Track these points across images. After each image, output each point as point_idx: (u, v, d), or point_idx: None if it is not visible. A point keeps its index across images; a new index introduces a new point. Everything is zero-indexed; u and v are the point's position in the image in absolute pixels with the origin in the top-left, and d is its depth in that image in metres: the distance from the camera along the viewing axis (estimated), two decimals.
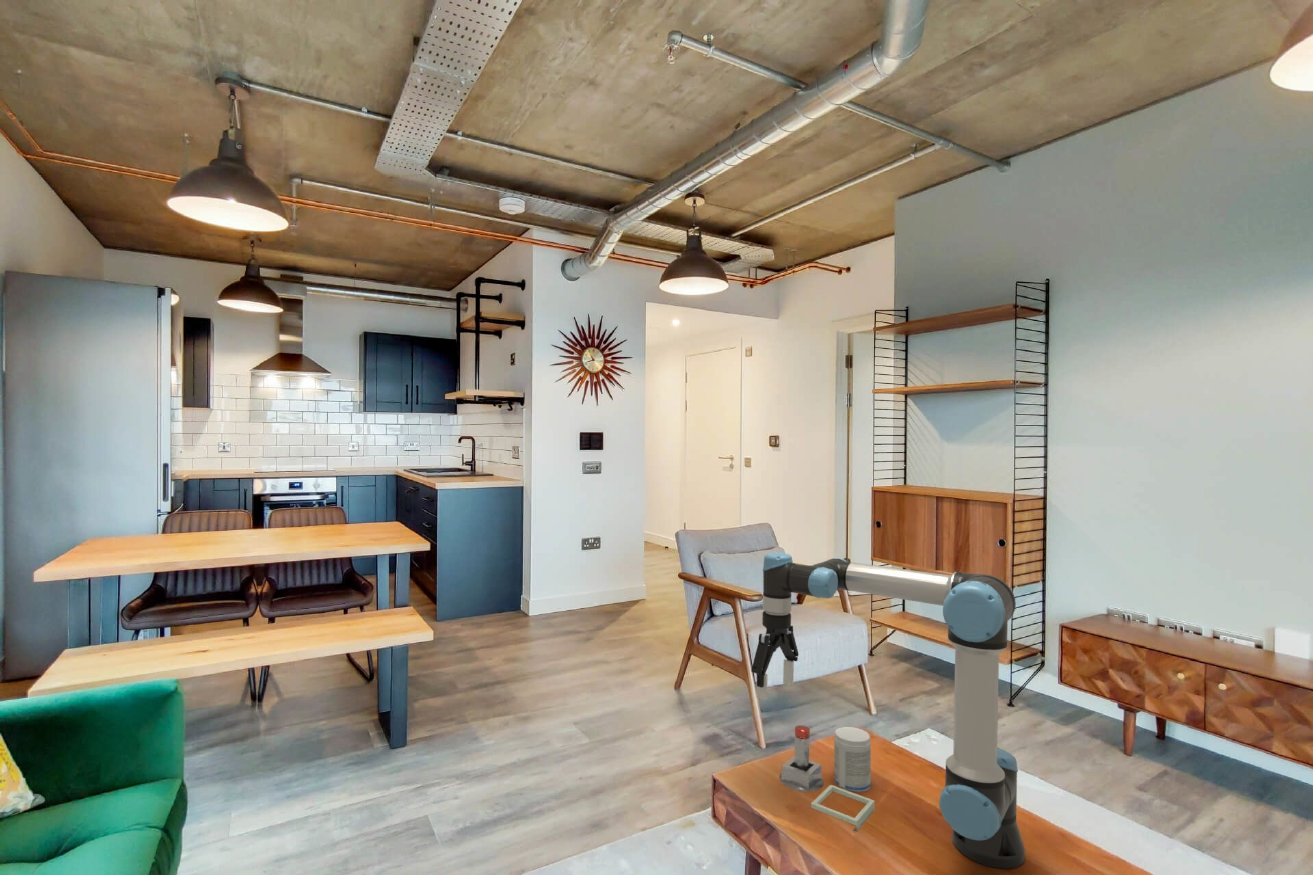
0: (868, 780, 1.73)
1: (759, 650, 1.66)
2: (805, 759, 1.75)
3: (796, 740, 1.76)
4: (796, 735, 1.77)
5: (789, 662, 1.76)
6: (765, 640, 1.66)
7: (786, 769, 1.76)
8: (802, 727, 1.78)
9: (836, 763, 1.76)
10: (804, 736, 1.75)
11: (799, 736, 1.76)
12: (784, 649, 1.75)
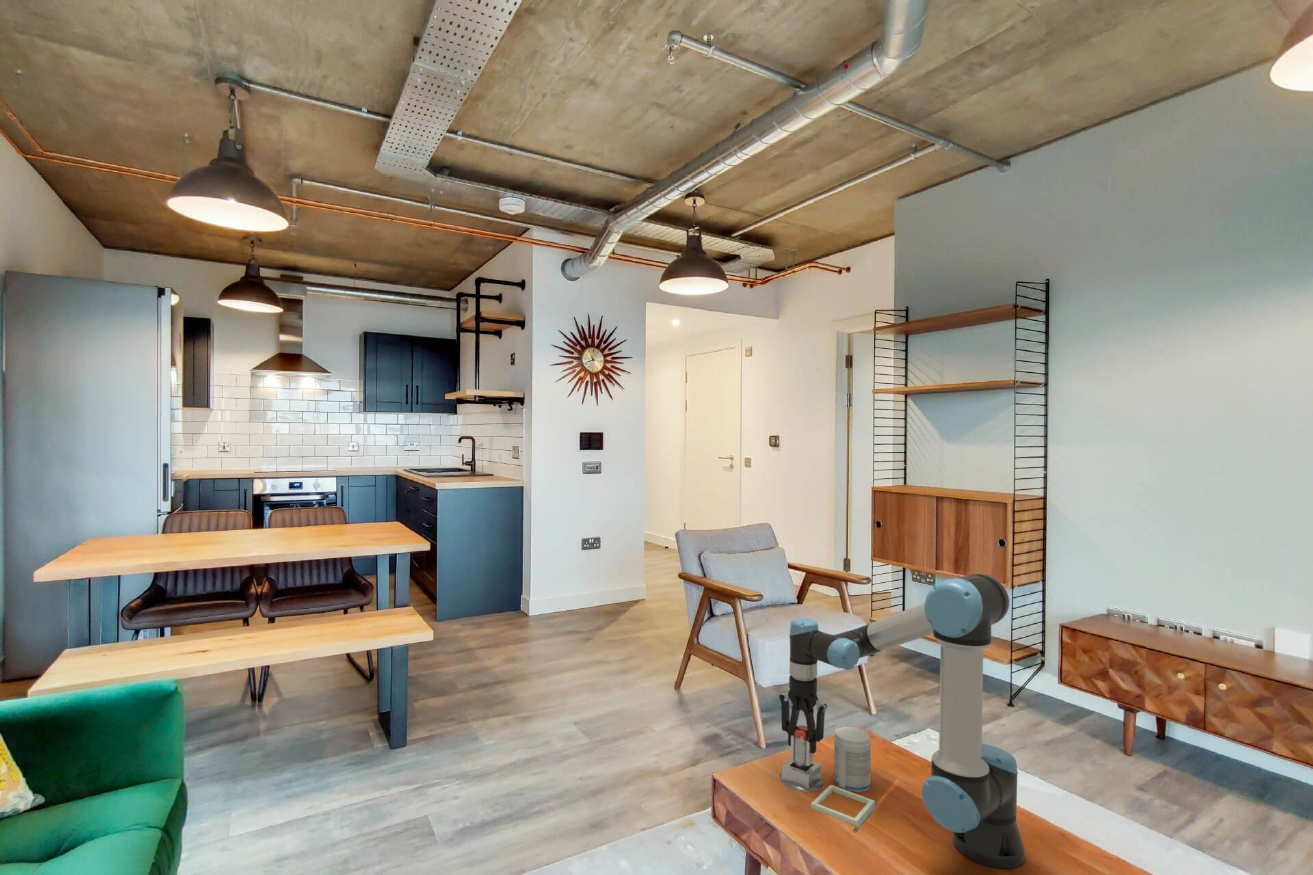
0: (868, 780, 1.73)
1: None
2: (805, 759, 1.75)
3: (796, 740, 1.76)
4: (796, 735, 1.77)
5: None
6: None
7: (786, 769, 1.76)
8: (802, 727, 1.78)
9: (836, 763, 1.76)
10: (804, 736, 1.75)
11: (799, 736, 1.76)
12: None
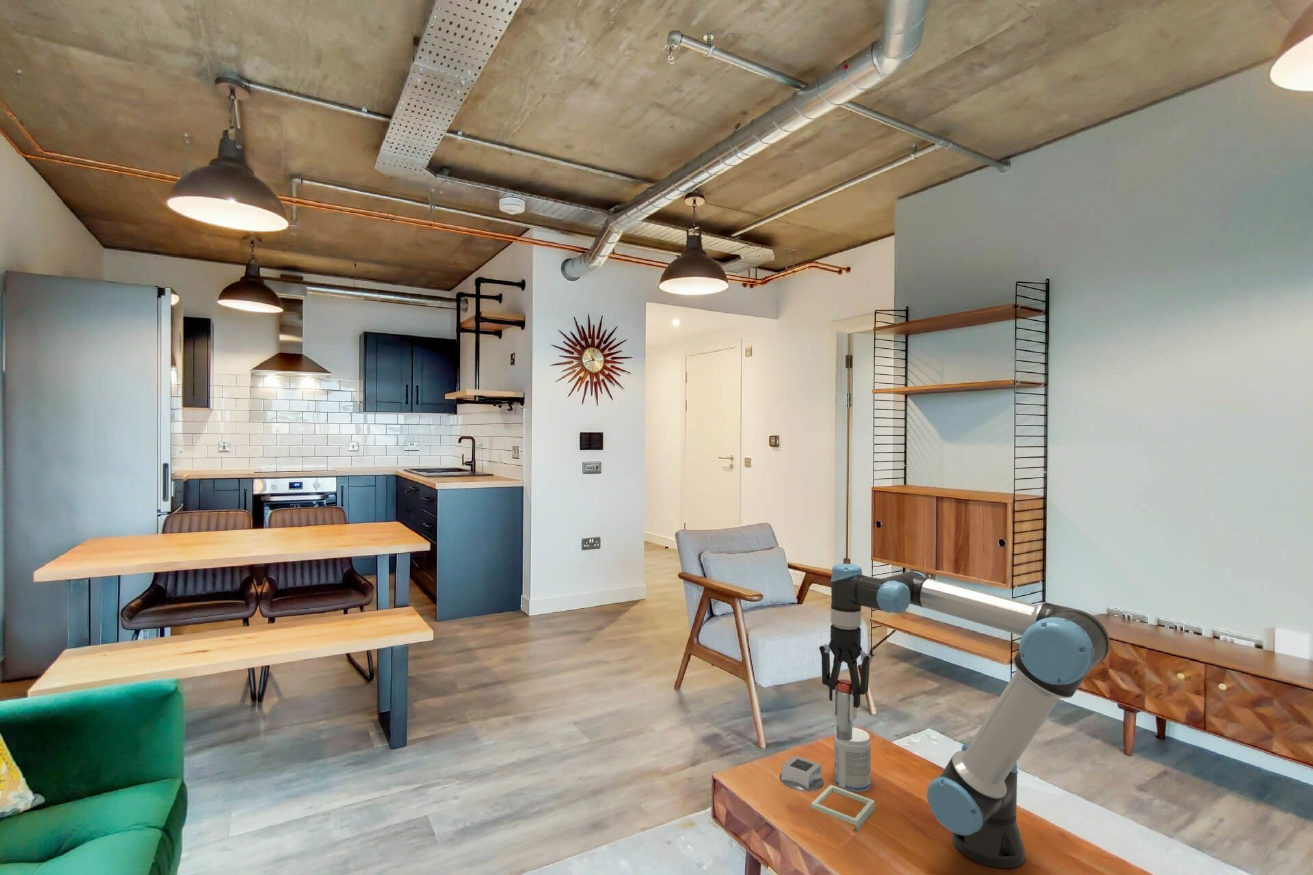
0: (868, 780, 1.73)
1: None
2: (848, 715, 1.63)
3: (838, 694, 1.64)
4: (838, 689, 1.64)
5: None
6: None
7: (786, 769, 1.76)
8: (844, 680, 1.66)
9: (836, 763, 1.76)
10: (847, 690, 1.63)
11: (842, 690, 1.63)
12: None
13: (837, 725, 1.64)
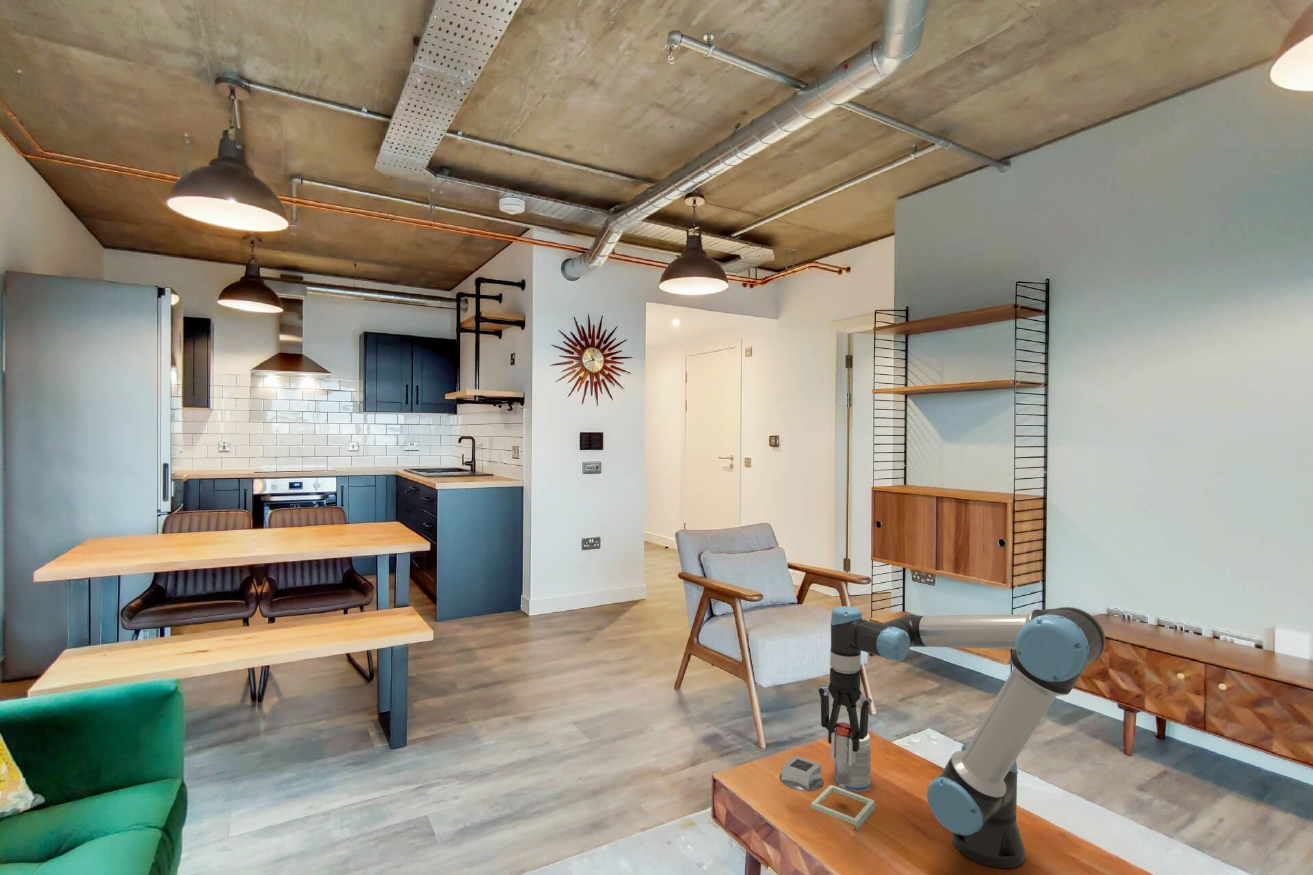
0: (868, 780, 1.73)
1: None
2: (847, 758, 1.63)
3: (837, 738, 1.64)
4: (837, 733, 1.64)
5: None
6: None
7: (786, 769, 1.76)
8: (843, 724, 1.66)
9: None
10: (846, 734, 1.63)
11: (841, 734, 1.63)
12: None
13: (836, 768, 1.64)
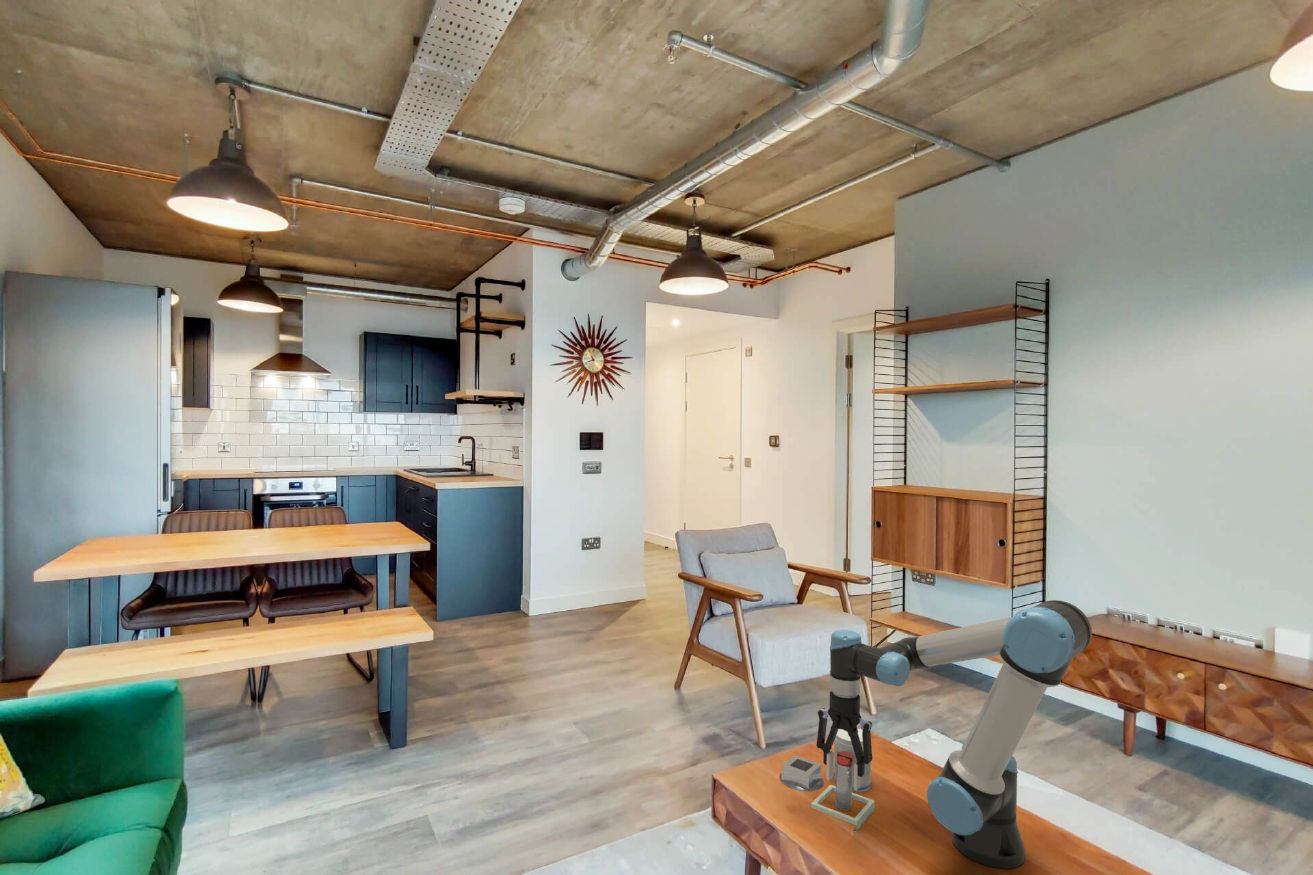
0: (868, 780, 1.73)
1: None
2: (848, 788, 1.63)
3: (838, 767, 1.64)
4: (839, 762, 1.64)
5: None
6: None
7: (786, 769, 1.76)
8: (844, 753, 1.65)
9: (836, 763, 1.76)
10: (847, 763, 1.62)
11: (842, 763, 1.63)
12: None
13: (836, 798, 1.64)
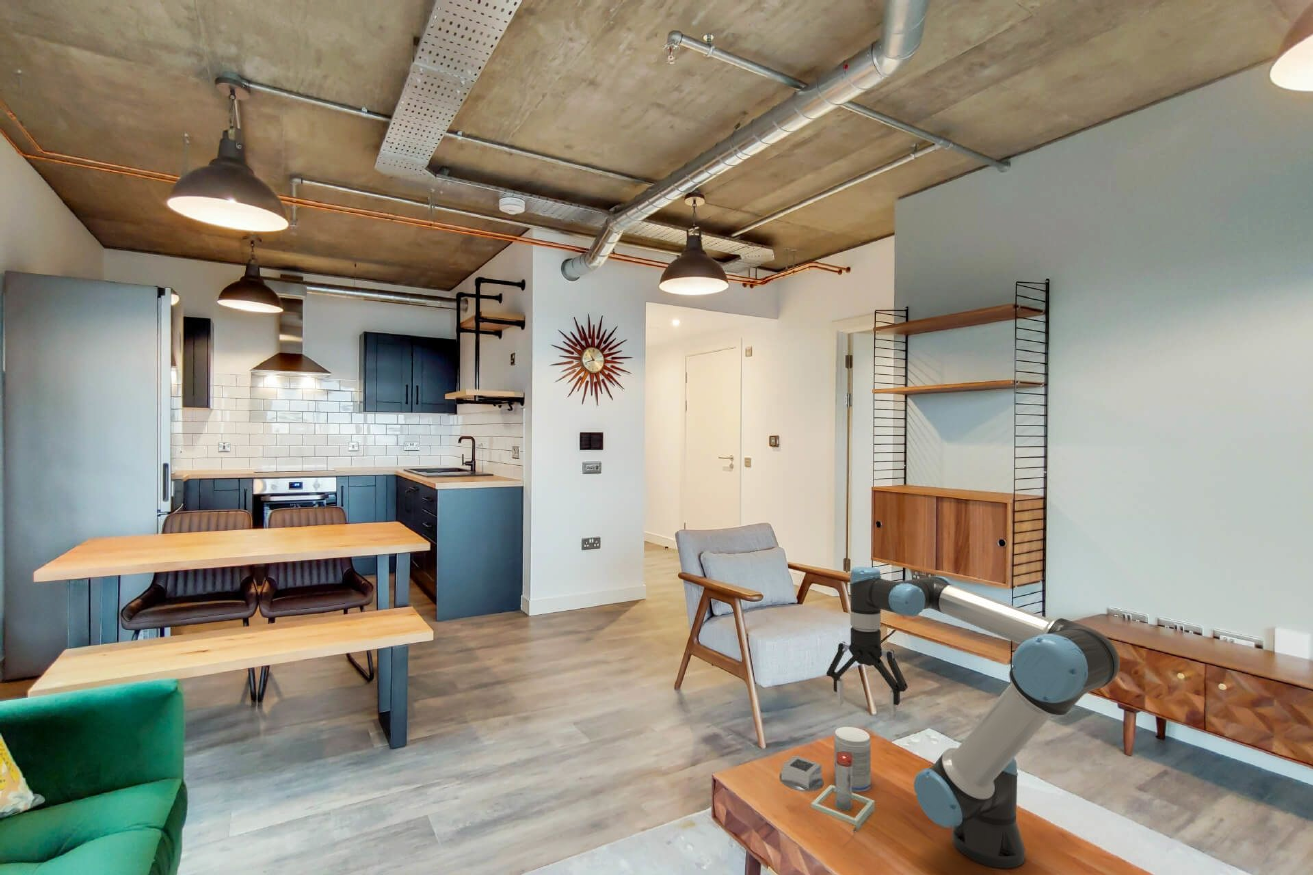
0: (868, 780, 1.73)
1: None
2: (847, 788, 1.63)
3: (838, 767, 1.64)
4: (838, 762, 1.64)
5: None
6: None
7: (786, 769, 1.76)
8: (844, 753, 1.65)
9: None
10: (847, 763, 1.63)
11: (841, 763, 1.63)
12: None
13: (836, 798, 1.64)
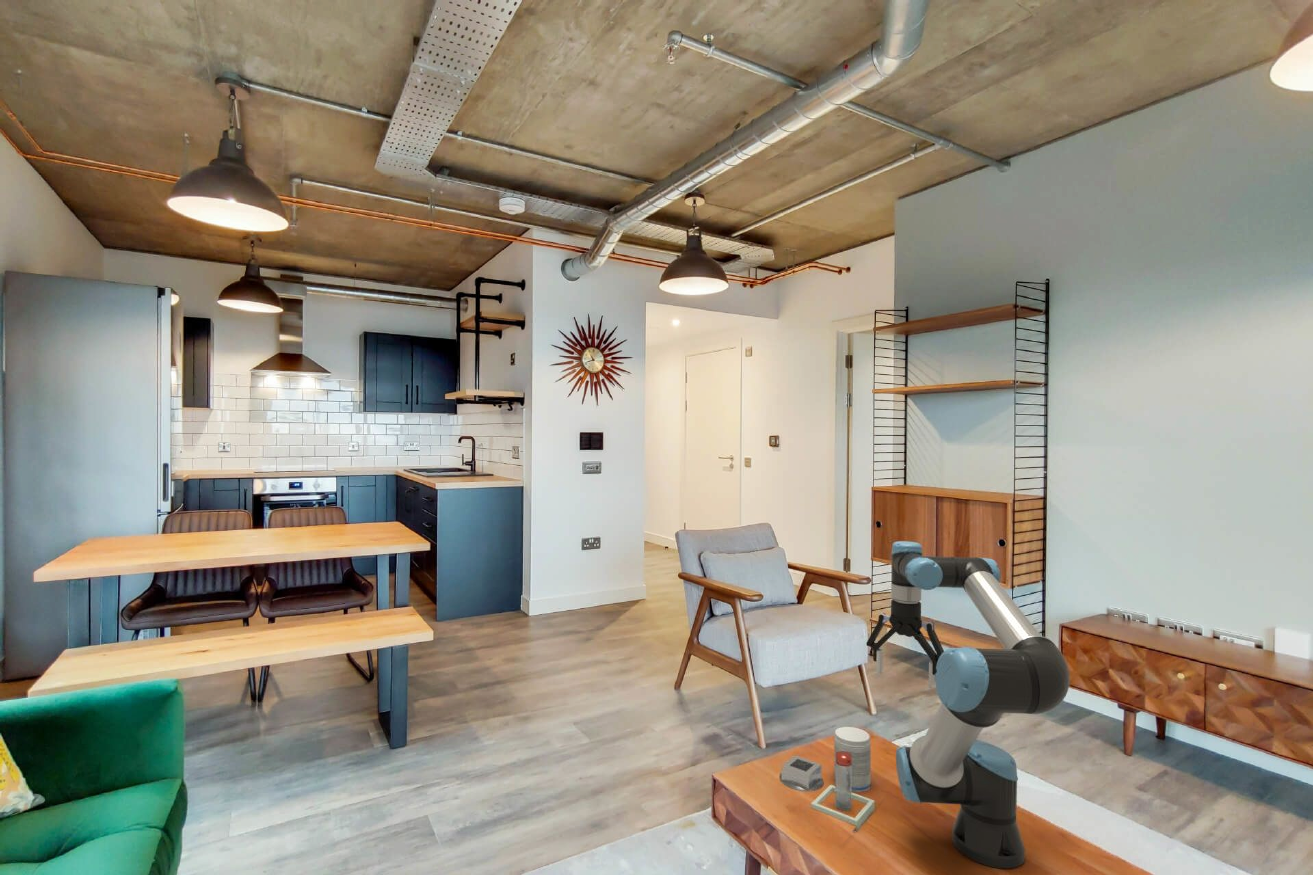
0: (868, 780, 1.73)
1: None
2: (847, 788, 1.63)
3: (837, 767, 1.64)
4: (837, 762, 1.64)
5: None
6: None
7: (786, 769, 1.76)
8: (843, 753, 1.65)
9: None
10: (846, 763, 1.63)
11: (841, 763, 1.63)
12: None
13: (836, 798, 1.64)
